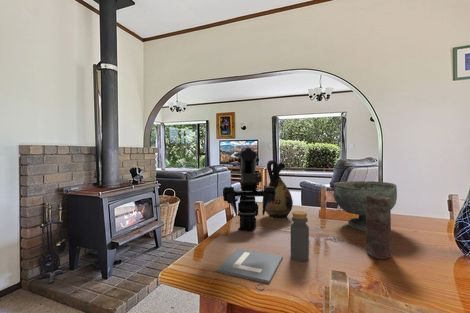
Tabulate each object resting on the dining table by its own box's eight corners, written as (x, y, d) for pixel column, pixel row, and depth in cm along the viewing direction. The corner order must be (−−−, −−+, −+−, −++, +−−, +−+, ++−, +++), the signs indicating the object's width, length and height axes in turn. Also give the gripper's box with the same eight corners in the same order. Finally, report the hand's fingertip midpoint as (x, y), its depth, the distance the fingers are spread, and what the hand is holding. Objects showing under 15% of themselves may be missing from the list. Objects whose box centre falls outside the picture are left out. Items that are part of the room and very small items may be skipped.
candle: (360, 250, 85) (361, 193, 84) (380, 249, 86) (381, 193, 85) (375, 260, 77) (376, 198, 77) (396, 259, 78) (397, 197, 77)
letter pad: (216, 271, 71) (216, 268, 71) (237, 250, 86) (237, 248, 86) (269, 283, 65) (269, 280, 65) (282, 258, 79) (282, 255, 79)
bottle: (309, 254, 82) (309, 210, 81) (308, 262, 76) (308, 215, 76) (291, 252, 84) (291, 209, 83) (289, 259, 78) (289, 214, 78)
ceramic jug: (274, 212, 136) (274, 159, 135) (298, 217, 125) (298, 159, 124) (254, 218, 125) (253, 160, 124) (278, 225, 113) (278, 161, 112)
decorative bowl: (408, 239, 93) (406, 187, 93) (336, 233, 101) (335, 186, 102) (388, 222, 118) (387, 181, 118) (332, 218, 126) (331, 180, 127)
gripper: (223, 164, 87) (221, 202, 77) (274, 164, 87) (280, 201, 76) (224, 183, 95) (223, 219, 85) (271, 183, 95) (276, 219, 84)
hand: (249, 214), depth 82 cm, fingers open, 9 cm apart
